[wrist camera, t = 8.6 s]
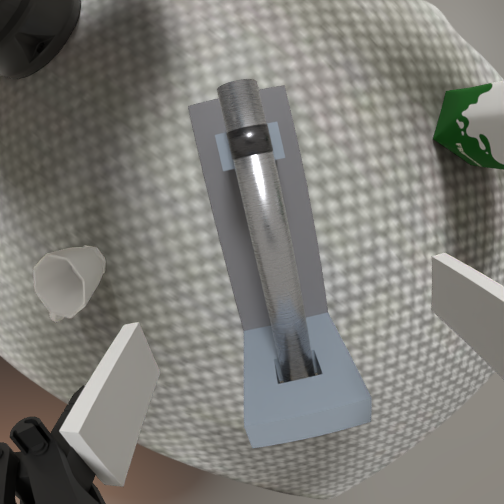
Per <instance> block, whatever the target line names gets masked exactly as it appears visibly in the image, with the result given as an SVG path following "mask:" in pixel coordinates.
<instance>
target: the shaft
mask: <svg viewBox="0 0 504 504" xmlns="http://www.w3.org/2000/svg"><path fill="white" fill-rule="evenodd" d="M217 93H218V97H219V102H220V106H221V110H222V115H223V119H224V123H225V128H226V132H227V133H226V135H227V139H228V144H229V148H230V152H231V157H232V159H233V162H234V166H235V171H236V175H237V179H238V184H239V188H240V192H241V197H242V201H243V205H244V210H245V214H246V218H247V223H248V227H249V232H250V236H251V240H252V245H253V249H254V253H255V258H256V262H257V266H258V271H259V275H260V279H261V284H262V288H263V293H264V297H265V301H266V306H267V310H268V314H269V319H270V323H271V327H272V332H273V336H274V341H275V345H276V349H277V354H278V358H279V363H280V367H281V371H282V376H283V380H284V383H285V382H290V381H295V380H299V379H304V378H308V377H312V376H315V372H314V365H313V359H312V352H311V346H310V340H309V334H308V328H307V322H306V316H305V310H304V304H303V299H302V293H301V288H300V282H299V277H298V271H297V266H296V260H295V255H294V250H293V245H292V240H291V234H290V229H289V224H288V219H287V214H286V210H285V205H284V200H283V195H282V190H281V186H280V181H279V176H278V172H277V167H276V163H275V158H274V153H273V146H272V141H271V137H270V133H269V128H268V124H267V123H266V119H265V114H264V110H263V106H262V102H261V98H260V94H259V90H258V85H257V81H256V80H254V79H243V80H237V81H232V82H229V83H226V84H224V85H221V86H220V87H218V88H217Z"/></svg>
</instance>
